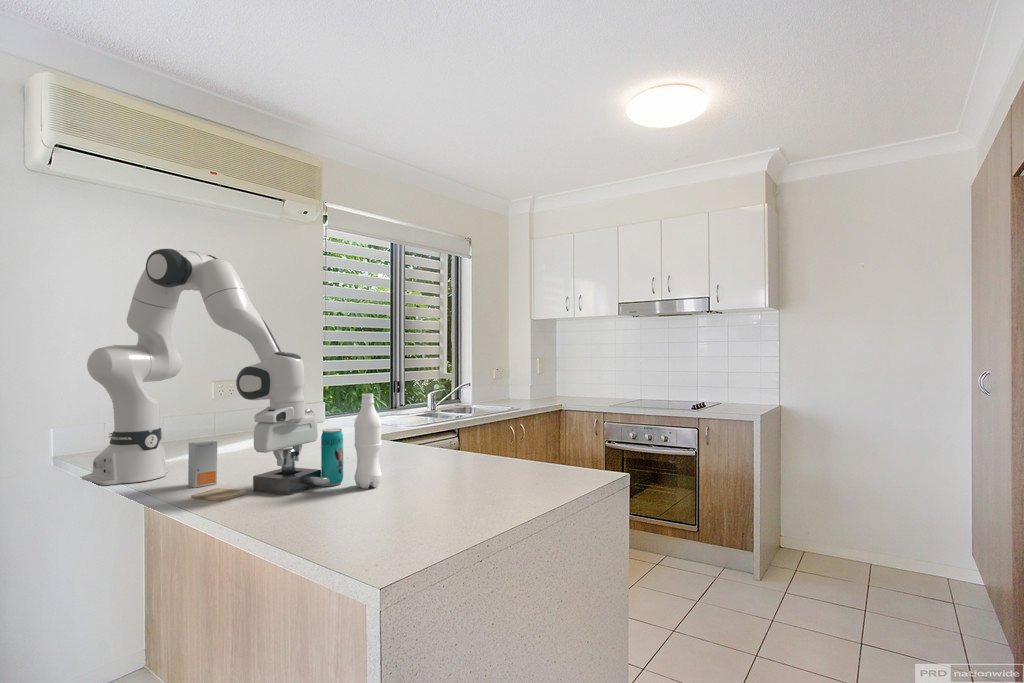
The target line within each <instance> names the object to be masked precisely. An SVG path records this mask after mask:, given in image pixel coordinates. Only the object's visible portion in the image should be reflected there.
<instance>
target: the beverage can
mask: <svg viewBox="0 0 1024 683" xmlns="http://www.w3.org/2000/svg"><path fill="white" fill-rule="evenodd" d="M342 430H343V429H342V428H336V427H335V428H326V429H322V430H321V431H322V433H321V436H320V442H321V443H320V445H321V446H320V449H321V452H320V455H321V458H320V459H321V460H320V463H321V464H320V465H321V468H320V470H321V477H322V478H329V479H330V484H329V485H328V486H327V487H336V486H340V485H341V484H342V482H343V479H344V434H343V432H342Z"/></svg>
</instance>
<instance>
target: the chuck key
mask: <svg viewBox="0 0 1024 683" xmlns="http://www.w3.org/2000/svg"><path fill="white" fill-rule="evenodd" d="M282 455H283V458H286V465H283V466H281V468H282V475H286V476H289V475H293V474H295V468H296V462H295V456H299V457H300V454H299V451H295V448H293V447H288V448H284V449H283V453H282Z"/></svg>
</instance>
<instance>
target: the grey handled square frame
mask: <svg viewBox="0 0 1024 683" xmlns="http://www.w3.org/2000/svg"><path fill="white" fill-rule="evenodd" d="M329 484H330V479H329V478H322V477H321V469H318V468H317V469H315V468H305V467H304V468H303V467H295V474H293V475H289V476H286V475H282V467H281V468H278V469H274V470H271V471H267V472H263V473H259V474H256V475H253V476H252V491H253V492H256V493H265V494H274V495H275V494H276V495H283V496H284V495H285V496H291V495H294V494H297V493H299V492H303V491H306V490H309V489H312V488H314V487H317V486H322V487H329V486H328V485H329Z"/></svg>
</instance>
